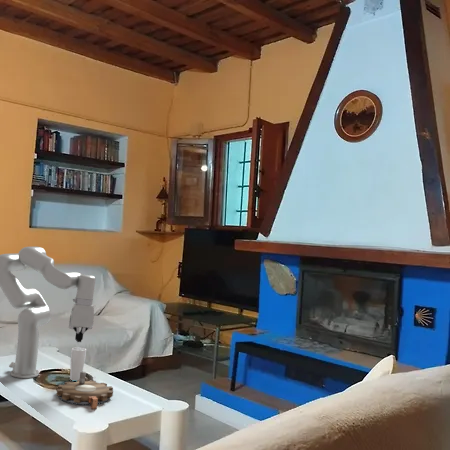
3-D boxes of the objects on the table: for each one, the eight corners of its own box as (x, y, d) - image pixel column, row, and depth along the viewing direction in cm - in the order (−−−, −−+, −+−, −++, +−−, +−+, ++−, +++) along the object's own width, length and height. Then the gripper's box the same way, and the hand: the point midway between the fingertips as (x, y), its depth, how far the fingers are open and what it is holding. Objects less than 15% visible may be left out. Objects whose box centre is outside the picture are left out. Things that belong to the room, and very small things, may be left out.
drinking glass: (78, 383, 241) (82, 351, 241) (65, 381, 243) (68, 349, 243) (85, 379, 248) (88, 348, 248) (72, 377, 249) (75, 346, 249)
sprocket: (52, 385, 230) (53, 370, 230) (104, 383, 242) (106, 368, 242) (62, 404, 210) (64, 387, 210) (119, 400, 221) (121, 384, 221)
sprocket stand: (47, 397, 219) (48, 388, 219) (79, 384, 240) (80, 376, 240) (94, 410, 211) (95, 400, 211) (123, 395, 231) (124, 386, 231)
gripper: (69, 302, 233) (63, 343, 233) (102, 304, 240) (96, 343, 240) (65, 299, 239) (60, 339, 239) (97, 301, 246) (92, 339, 246)
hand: (78, 341), depth 240 cm, fingers closed
